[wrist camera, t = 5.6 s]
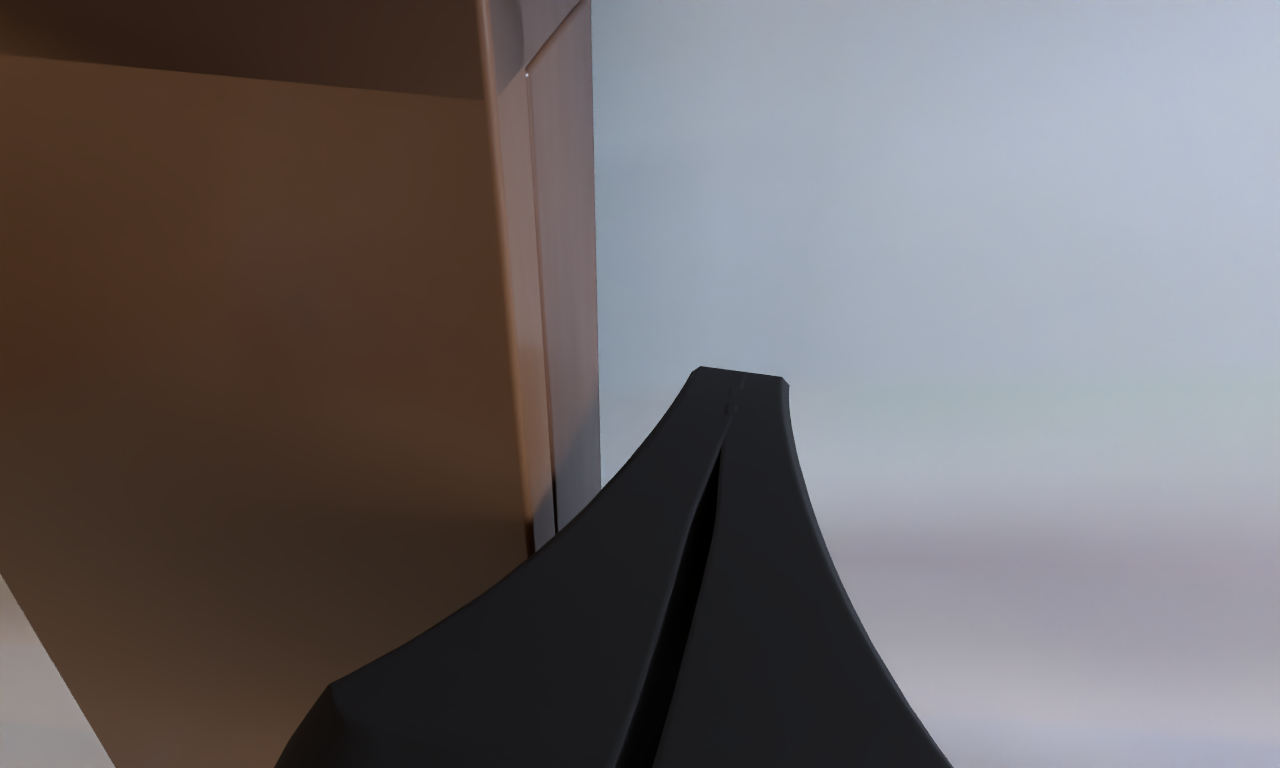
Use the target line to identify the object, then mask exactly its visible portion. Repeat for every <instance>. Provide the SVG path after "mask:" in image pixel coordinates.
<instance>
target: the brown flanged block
mask: <svg viewBox="0 0 1280 768" xmlns="http://www.w3.org/2000/svg"><path fill="white" fill-rule="evenodd" d="M600 491H601V465H600V418H599V371H598V324H597V278H596V231H595V184H594V137H593V91H592V44H591V0H0V574H1V576H2V578H3V579H4V581H5V583H6V584H7V586H8V588H9V589H10V591H11V593H12V595H13V596H14V598H15V600H16V601H17V603H18V605H19V606H20V608H21V610H22V611H23V613H24V615H25V616H26V618H27V620H28V621H29V623H30V625H31V626H32V628H33V630H34V631H35V633H36V635H37V636H38V638H39V640H40V642H41V643H42V645H43V647H44V648H45V650H46V652H47V653H48V655H49V657H50V658H51V660H52V662H53V663H54V665H55V667H56V668H57V670H58V672H59V673H60V675H61V677H62V678H63V680H64V682H65V683H66V685H67V687H68V688H69V690H70V692H71V694H72V695H73V697H74V699H75V700H76V702H77V704H78V705H79V707H80V709H81V710H82V712H83V714H84V715H85V717H86V719H87V720H88V722H89V724H90V725H91V727H92V729H93V730H94V732H95V734H96V735H97V737H98V739H99V741H100V742H101V744H102V746H103V747H104V749H105V751H106V752H107V754H108V756H109V757H110V759H111V761H112V762H113V764H114V766H115V767H116V768H274V767H275V765H276V763H277V761H278V759H279V757H280V755H281V754H282V752H283V750H284V748H285V746H286V745H287V743H288V741H289V739H290V738H291V736H292V735H293V733H294V732H295V730H296V729H297V728H298V726H299V725H300V723H301V722H302V720H303V719H304V718H305V716H306V715H307V713H308V712H309V710H310V709H311V708H312V706H313V705H314V703H315V702H316V701H317V699H318V698H319V697H320V695H321V694H322V692H323V691H324V690H325V688H326V687H327V686H328V684H330V683H332V682H334V681H336V680H338V679H340V678H342V677H344V676H346V675H348V674H350V673H352V672H353V671H355V670H357V669H359V668H361V667H363V666H364V665H366V664H368V663H370V662H372V661H374V660H376V659H377V658H379V657H381V656H383V655H385V654H387V653H388V652H390V651H392V650H394V649H396V648H398V647H400V646H401V645H403V644H405V643H407V642H408V641H410V640H412V639H413V638H415V637H417V636H418V635H420V634H422V633H423V632H425V631H426V630H428V629H429V628H431V627H432V626H434V625H435V624H437V623H438V622H440V621H442V620H443V619H445V618H446V617H448V616H449V615H451V614H452V613H454V612H455V611H457V610H458V609H460V608H461V607H463V606H465V605H466V604H468V603H469V602H471V601H472V600H474V599H475V598H477V597H478V596H479V595H481V594H482V593H484V592H485V591H486V590H488V589H489V588H490V587H492V586H493V585H495V584H496V583H497V582H499V581H500V580H501V579H503V578H504V577H505V576H506V575H508V574H509V573H510V572H511V571H513V570H514V569H515V568H516V567H518V566H519V565H520V564H521V563H523V562H524V561H525V560H526V559H528V558H529V557H530V556H532V555H533V554H534V553H535V552H536V551H538V550H539V549H540V548H541V547H542V546H543V545H545V544H546V543H547V542H548V541H549V540H550V539H551V538H552V537H554V536H555V535H556V534H557V533H558V532H559V531H560V530H561V529H563V528H564V527H565V526H566V525H567V524H568V523H569V522H570V521H571V520H572V519H573V518H574V517H575V516H576V515H577V514H578V513H579V512H580V511H581V510H582V509H583V508H584V507H585V506H586V505H587V504H588V503H589V502H590V501H591V500H592V499H593V498H594V497H595V496H596V495H597V494H598V493H599V492H600Z"/></svg>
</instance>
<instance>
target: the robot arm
mask: <svg viewBox="0 0 1280 768" xmlns="http://www.w3.org/2000/svg"><path fill="white" fill-rule="evenodd" d="M274 768H954V767H953V766H952V765H951V763H950V762H949V761H948V759H947V758H946V757H945V755H944V754H943V753H942V751H941V750H940V749H939V747H938V746H937V744H936V743H935V742H934V740H933V739H932V737H931V736H930V734H929V733H928V731H927V730H926V728H925V727H924V725H923V724H922V723H921V721H920V720H919V718H918V717H917V715H916V714H915V712H914V711H913V709H912V708H911V707H910V705H909V703H908V702H907V700H906V698H905V697H904V695H903V693H902V692H901V690H900V689H899V687H898V685H897V684H896V682H895V680H894V679H893V677H892V675H891V674H890V672H889V670H888V669H887V667H886V665H885V664H884V662H883V660H882V659H881V657H880V655H879V654H878V652H877V650H876V649H875V647H874V646H873V644H872V642H871V640H870V638H869V636H868V634H867V632H866V631H865V629H864V627H863V625H862V623H861V621H860V619H859V617H858V615H857V613H856V611H855V609H854V608H853V605H852V603H851V601H850V599H849V597H848V595H847V593H846V591H845V588H844V586H843V584H842V582H841V580H840V578H839V575H838V573H837V571H836V569H835V566H834V564H833V561H832V559H831V557H830V554H829V552H828V549H827V547H826V544H825V541H824V539H823V536H822V533H821V531H820V528H819V525H818V523H817V520H816V517H815V514H814V511H813V508H812V505H811V502H810V499H809V495H808V492H807V489H806V485H805V482H804V478H803V475H802V471H801V468H800V464H799V460H798V456H797V452H796V447H795V442H794V437H793V432H792V426H791V419H790V410H789V385H788V383H787V382H786V381H785V380H784V379H783V378H782V377H777V376H770V375H763V374H755V373H748V372H740V371H733V370H725V369H718V368H711V367H703V366H700V367H699V368H697V369H695V370H694V371H692V372H691V374H690V376H689V378H688V379H687V381H686V383H685V385H684V386H683V388H682V389H681V391H680V393H679V394H678V396H677V397H676V399H675V400H674V402H673V403H672V405H671V406H670V408H669V409H668V410H667V412H666V413H665V414H664V416H663V417H662V419H661V420H660V421H659V423H658V424H657V425H656V427H655V428H654V429H653V431H652V432H651V433H650V434H649V435H648V437H647V438H646V439H645V440H644V442H643V443H642V444H641V445H640V447H639V448H638V449H637V450H636V451H635V453H634V454H633V455H632V456H631V458H630V459H629V460H628V461H627V462H626V464H625V465H624V466H623V467H622V468H621V469H620V470H619V471H618V473H617V474H616V475H615V476H614V477H613V478H612V479H611V480H610V481H609V482H608V483H607V484H606V485H605V486H604V487H603V489H602V490H601V491H600V492H599V493H598V494H597V495H596V496H595V497H594V498H593V499H592V500H591V501H590V502H589V503H588V504H587V505H586V506H585V507H584V508H583V509H582V510H581V511H580V512H579V513H578V514H577V515H576V516H575V517H574V518H573V519H572V520H571V521H570V522H569V523H568V524H567V525H566V526H565V527H564V528H563V529H561V530H560V531H559V532H558V533H557V534H556V535H555V536H554V537H552V538H551V539H550V540H549V541H548V542H547V543H546V544H545V545H543V546H542V547H541V548H540V549H539V550H538V551H536V552H535V553H534V554H533V555H532V556H530V557H529V558H528V559H526V560H525V561H524V562H523V563H521V564H520V565H519V566H518V567H516V568H515V569H514V570H513V571H511V572H510V573H509V574H508V575H506V576H505V577H504V578H503V579H501V580H500V581H499V582H497V583H496V584H495V585H493V586H492V587H490V588H489V589H488V590H486V591H485V592H484V593H482V594H481V595H479V596H478V597H477V598H475V599H474V600H472V601H471V602H469V603H468V604H466V605H465V606H463V607H461V608H460V609H458V610H457V611H455V612H454V613H452V614H451V615H449V616H448V617H446V618H445V619H443V620H442V621H440V622H438V623H437V624H435V625H434V626H432V627H431V628H429V629H428V630H426V631H425V632H423V633H422V634H420V635H418V636H417V637H415V638H413V639H412V640H410V641H408V642H407V643H405V644H403V645H401V646H400V647H398V648H396V649H394V650H392V651H390V652H388V653H387V654H385V655H383V656H381V657H379V658H377V659H376V660H374V661H372V662H370V663H368V664H366V665H364V666H363V667H361V668H359V669H357V670H355V671H353V672H352V673H350V674H348V675H346V676H344V677H342V678H340V679H338V680H336V681H334V682H332V683H330V684H328V686H327V687H326V688H325V690H324V691H323V692H322V694H321V695H320V697H319V698H318V699H317V701H316V702H315V703H314V705H313V706H312V708H311V709H310V710H309V712H308V713H307V715H306V716H305V718H304V719H303V720H302V722H301V723H300V725H299V726H298V728H297V729H296V730H295V732H294V733H293V735H292V736H291V738H290V739H289V741H288V743H287V745H286V746H285V748H284V750H283V752H282V754H281V755H280V757H279V759H278V761H277V763H276V765H275V767H274Z"/></svg>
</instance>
